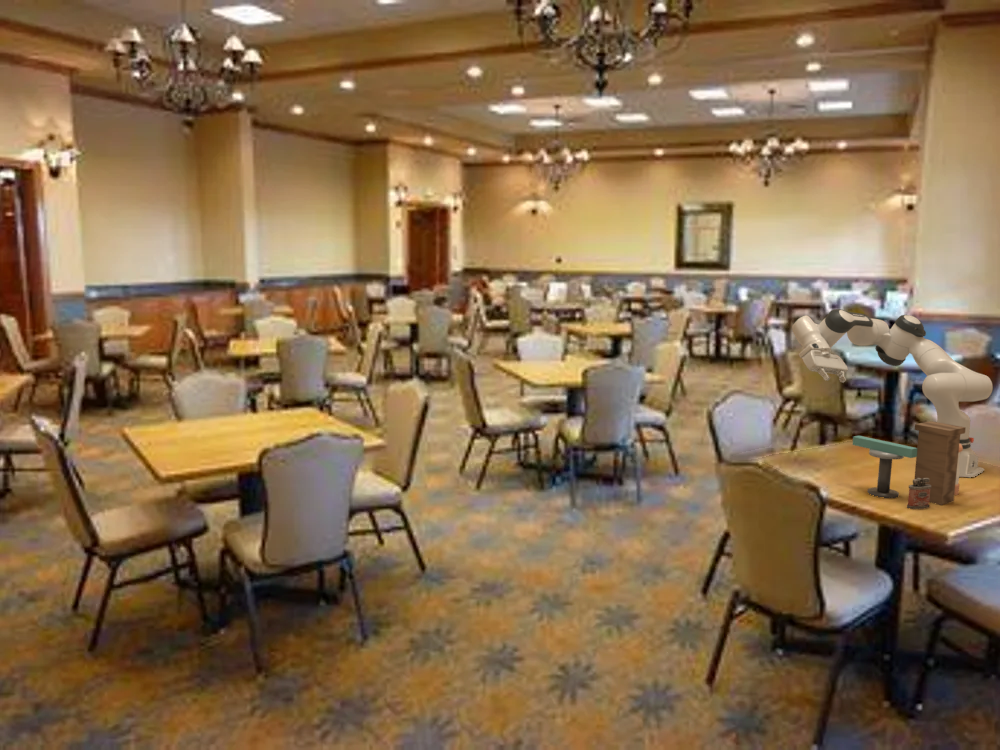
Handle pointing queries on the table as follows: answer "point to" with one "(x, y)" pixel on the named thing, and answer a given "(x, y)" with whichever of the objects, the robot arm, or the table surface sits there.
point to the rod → (885, 446)
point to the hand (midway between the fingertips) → (835, 380)
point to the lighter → (919, 494)
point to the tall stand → (938, 458)
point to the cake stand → (884, 474)
